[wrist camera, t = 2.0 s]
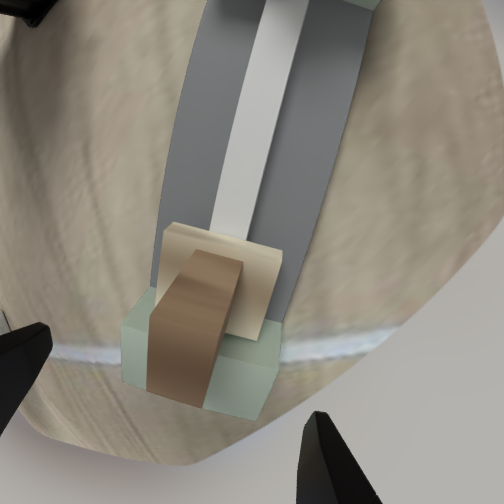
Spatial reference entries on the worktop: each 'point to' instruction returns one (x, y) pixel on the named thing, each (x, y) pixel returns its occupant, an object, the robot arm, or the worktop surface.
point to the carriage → (204, 306)
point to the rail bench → (293, 134)
